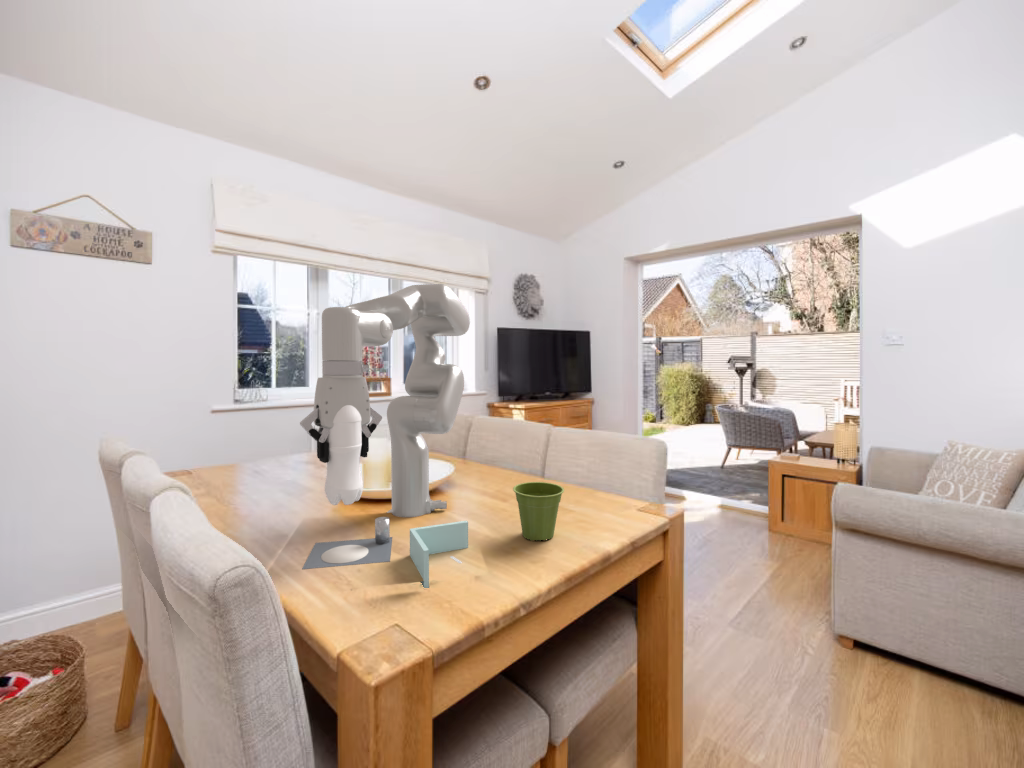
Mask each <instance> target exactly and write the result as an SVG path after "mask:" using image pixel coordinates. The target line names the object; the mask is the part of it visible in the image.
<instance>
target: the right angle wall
mask: <svg viewBox="0 0 1024 768" xmlns="http://www.w3.org/2000/svg"><path fill="white" fill-rule="evenodd" d="M468 548H469V522H468V520H460V521H455V522H454V521H452V522H448V523H447V522H446V523H441V524H434V525H427V526H421V527H419V526H418V527H414V528H413V527H412V528H409V557H410V558H411V560H412V562H413V563H414V566H415V567H416V569H417V571H418V573H419V574H420V576H421V578H422V580H420V581H419V583H420V584H421V583H422V584H421V586H422V585H423V586H422V588H423V587H424V588H429V589H430V555H434V554H438V553H445V552H450V551H457V550H462V549H468ZM449 558H450V559H452V560H454V561H455V562H457V564H463V562H462V561H461V560H459V559H458V558H456V557H455V556H453V555H450V556H449ZM424 588H423V589H424Z"/></svg>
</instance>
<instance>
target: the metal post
mask: <svg viewBox="0 0 1024 768" xmlns="http://www.w3.org/2000/svg"><path fill="white" fill-rule="evenodd" d="M390 524H391V523H390V517H389V516H379V517H376V518H375V519H374V536H375V537H374V538H375V543H376V544H379V545H383V544H387V543H389V542H390V537H391V535H390Z"/></svg>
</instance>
